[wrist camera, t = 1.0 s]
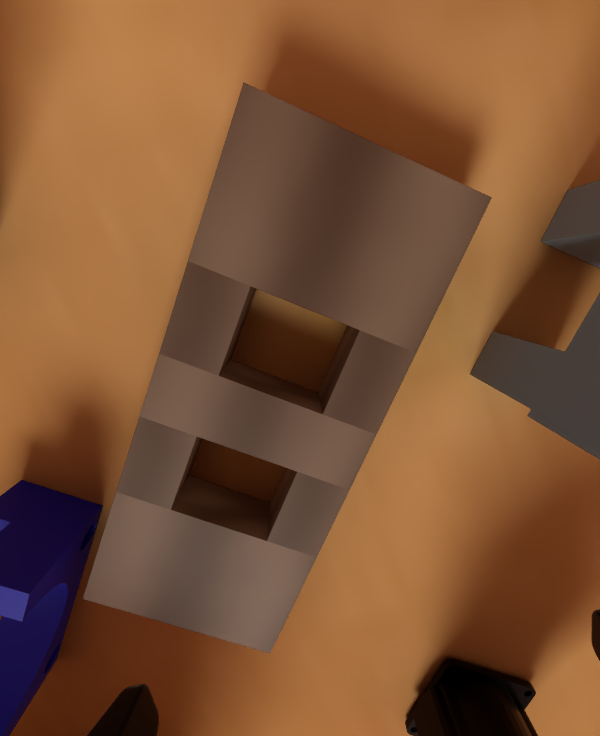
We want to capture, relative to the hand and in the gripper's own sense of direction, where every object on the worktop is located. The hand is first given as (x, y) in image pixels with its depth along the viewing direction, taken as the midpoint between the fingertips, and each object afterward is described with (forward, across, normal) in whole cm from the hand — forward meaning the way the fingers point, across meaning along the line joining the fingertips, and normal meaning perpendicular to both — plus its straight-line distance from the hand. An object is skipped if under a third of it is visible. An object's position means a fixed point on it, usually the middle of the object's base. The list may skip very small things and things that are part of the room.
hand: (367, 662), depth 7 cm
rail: (+12, +3, -2) cm, 13 cm away
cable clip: (+13, +18, +6) cm, 23 cm away
